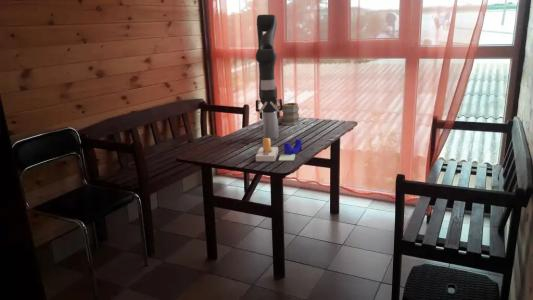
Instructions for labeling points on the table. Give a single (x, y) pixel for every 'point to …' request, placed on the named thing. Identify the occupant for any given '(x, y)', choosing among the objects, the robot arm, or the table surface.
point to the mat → (286, 157)
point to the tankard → (290, 114)
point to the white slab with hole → (267, 154)
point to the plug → (266, 145)
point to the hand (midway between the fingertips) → (269, 118)
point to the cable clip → (295, 149)
